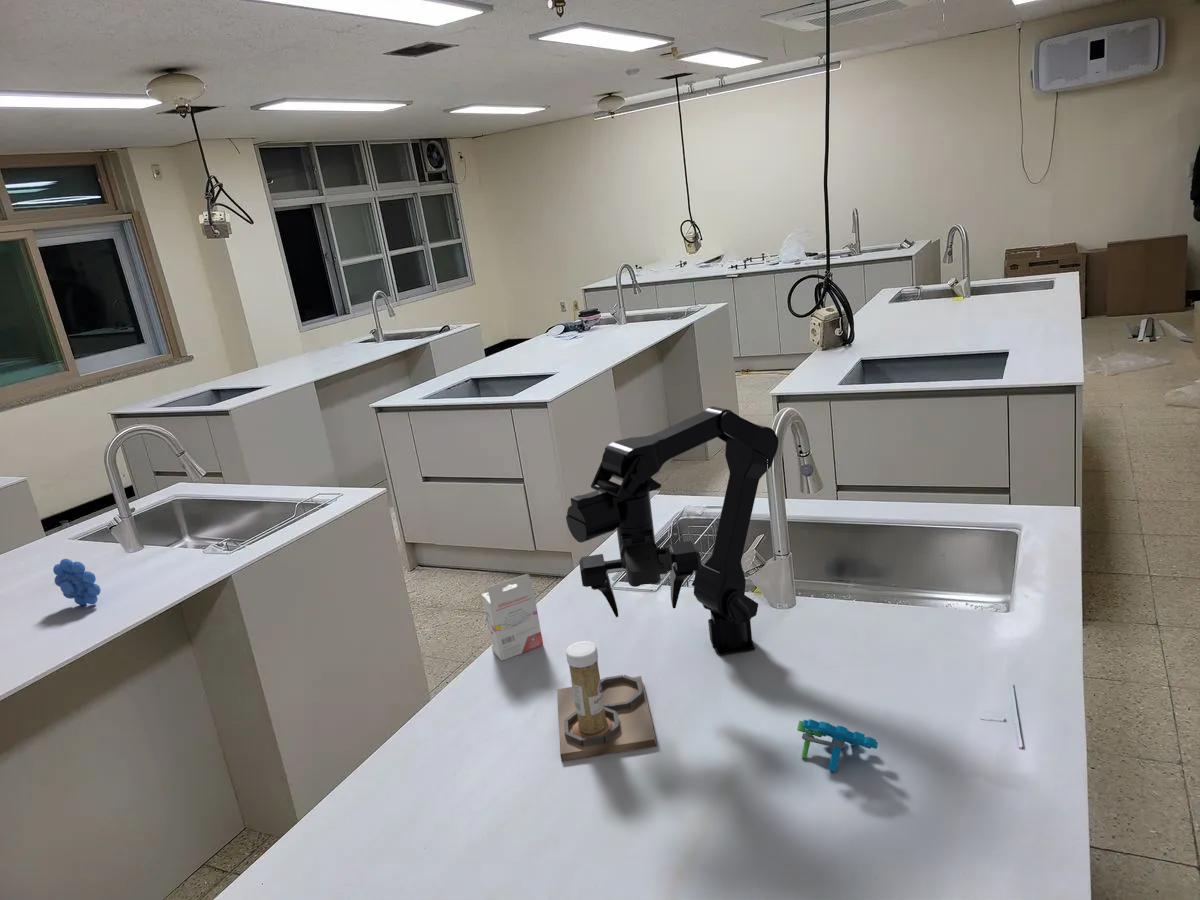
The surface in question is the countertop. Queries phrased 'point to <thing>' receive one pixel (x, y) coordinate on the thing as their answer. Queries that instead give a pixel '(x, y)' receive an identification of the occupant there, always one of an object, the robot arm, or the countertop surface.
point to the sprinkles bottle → (586, 687)
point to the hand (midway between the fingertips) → (645, 611)
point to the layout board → (623, 717)
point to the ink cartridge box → (512, 617)
